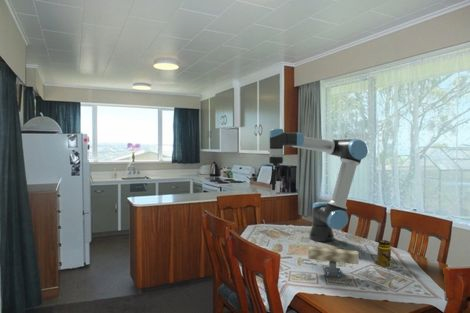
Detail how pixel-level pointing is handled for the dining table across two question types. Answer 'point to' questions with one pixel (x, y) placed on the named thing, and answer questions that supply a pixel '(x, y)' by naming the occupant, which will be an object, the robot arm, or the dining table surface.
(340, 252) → the bar
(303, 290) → the dining table surface
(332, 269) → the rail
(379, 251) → the condiment
